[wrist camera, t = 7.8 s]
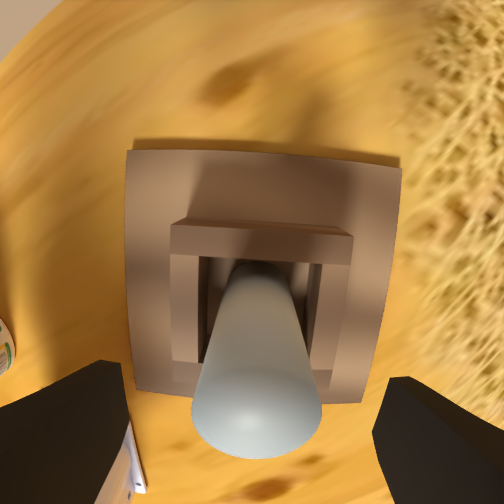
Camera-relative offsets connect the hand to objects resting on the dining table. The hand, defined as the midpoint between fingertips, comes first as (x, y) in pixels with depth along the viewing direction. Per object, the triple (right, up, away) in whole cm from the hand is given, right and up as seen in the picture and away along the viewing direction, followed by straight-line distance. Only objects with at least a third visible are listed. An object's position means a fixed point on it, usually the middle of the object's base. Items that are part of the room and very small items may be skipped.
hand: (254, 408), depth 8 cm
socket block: (0, +2, +9) cm, 10 cm away
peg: (0, +2, +9) cm, 9 cm away
